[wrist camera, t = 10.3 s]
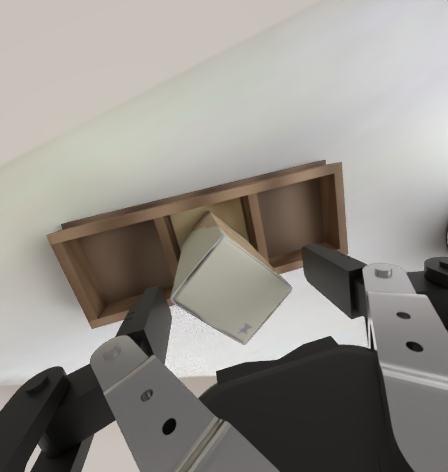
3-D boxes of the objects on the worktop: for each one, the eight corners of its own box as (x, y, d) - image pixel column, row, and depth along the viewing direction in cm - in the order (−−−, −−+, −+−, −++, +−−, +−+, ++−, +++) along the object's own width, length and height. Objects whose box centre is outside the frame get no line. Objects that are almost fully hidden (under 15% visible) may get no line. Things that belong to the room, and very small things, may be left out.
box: (245, 238, 21) (300, 292, 11) (220, 270, 22) (247, 351, 11) (206, 207, 20) (223, 232, 9) (179, 241, 20) (166, 303, 10)
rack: (319, 160, 22) (342, 156, 19) (327, 247, 25) (349, 257, 21) (67, 222, 20) (41, 230, 16) (107, 311, 22) (92, 333, 19)
